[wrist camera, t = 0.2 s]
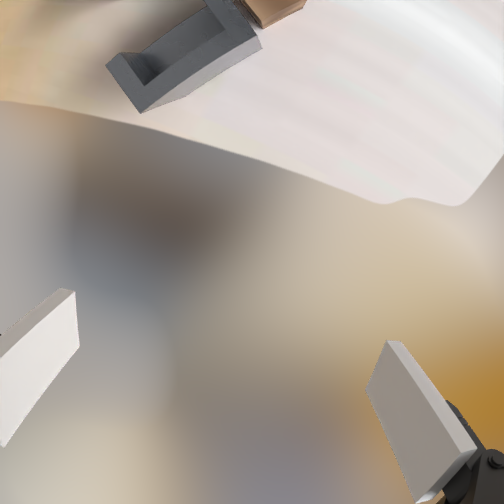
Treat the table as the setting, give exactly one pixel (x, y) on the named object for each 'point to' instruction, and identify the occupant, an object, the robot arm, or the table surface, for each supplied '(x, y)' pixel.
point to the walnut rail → (272, 10)
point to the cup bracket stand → (185, 56)
